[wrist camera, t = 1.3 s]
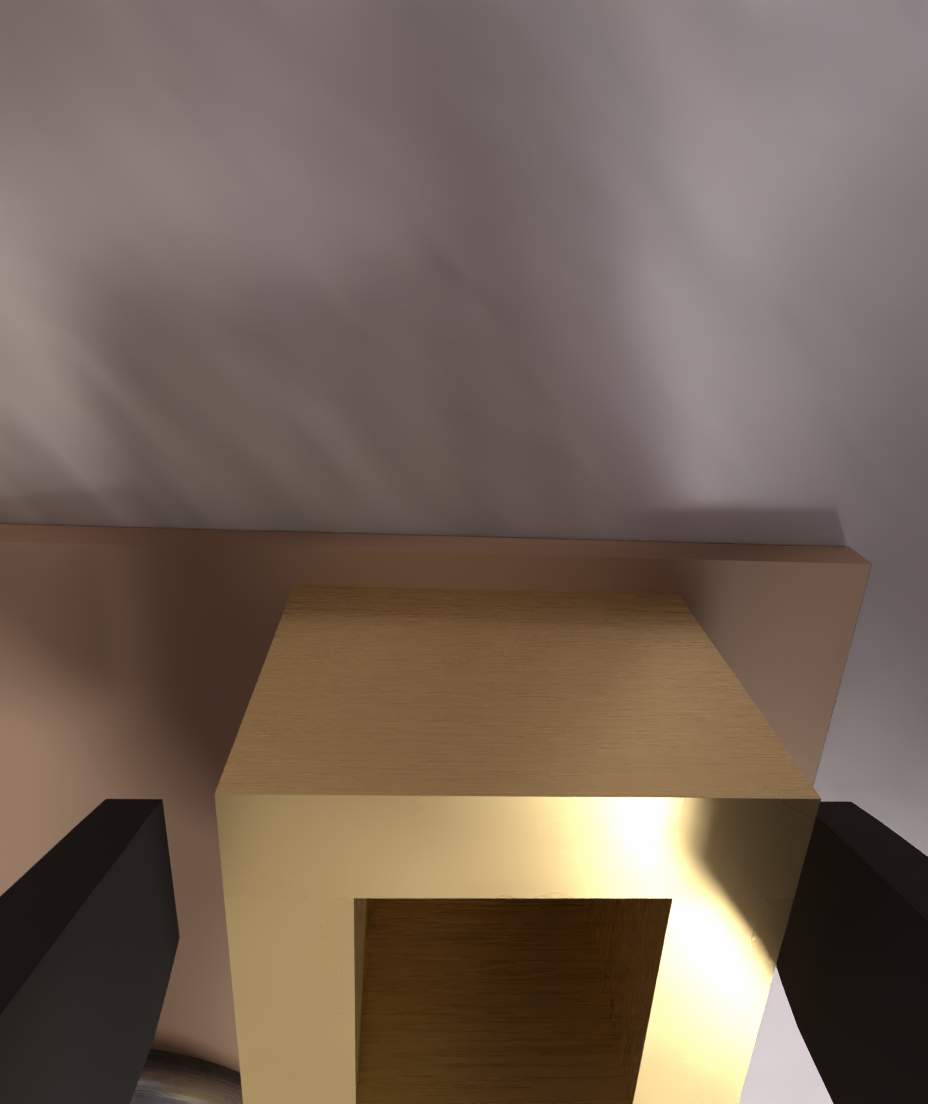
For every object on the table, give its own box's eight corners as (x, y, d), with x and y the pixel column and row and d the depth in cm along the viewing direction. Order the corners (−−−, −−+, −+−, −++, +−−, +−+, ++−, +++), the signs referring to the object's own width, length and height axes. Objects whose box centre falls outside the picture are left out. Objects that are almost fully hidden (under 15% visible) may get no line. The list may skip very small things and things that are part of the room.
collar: (678, 594, 10) (822, 799, 7) (629, 884, 12) (719, 1172, 8) (293, 585, 10) (215, 793, 6) (305, 885, 12) (249, 1181, 8)
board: (848, 546, 11) (871, 564, 10) (662, 1289, 18) (670, 1323, 17) (-729, 504, 10) (-799, 520, 9) (-274, 1316, 16) (-299, 1355, 16)
